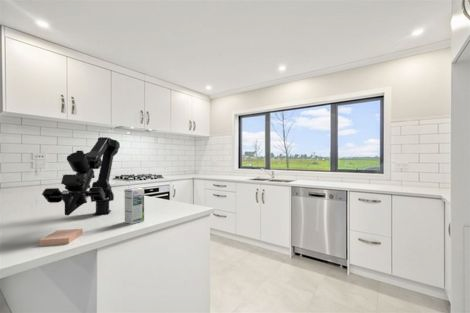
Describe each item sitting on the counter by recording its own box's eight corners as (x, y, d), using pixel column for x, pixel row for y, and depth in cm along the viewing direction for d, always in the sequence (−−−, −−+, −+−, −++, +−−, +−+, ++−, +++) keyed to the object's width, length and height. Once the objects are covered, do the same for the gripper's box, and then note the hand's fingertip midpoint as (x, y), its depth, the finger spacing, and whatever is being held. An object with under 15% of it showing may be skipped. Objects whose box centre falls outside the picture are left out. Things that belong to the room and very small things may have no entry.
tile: (56, 230, 75) (39, 240, 66) (82, 228, 76) (68, 238, 68) (56, 236, 75) (39, 247, 66) (82, 235, 76) (68, 245, 68)
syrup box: (132, 224, 87) (132, 189, 87) (123, 222, 90) (124, 188, 90) (144, 221, 92) (144, 187, 92) (136, 218, 95) (136, 186, 95)
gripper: (45, 166, 77) (22, 203, 66) (102, 166, 81) (89, 200, 70) (58, 185, 84) (39, 220, 73) (110, 184, 88) (98, 217, 77)
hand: (66, 214), depth 73 cm, fingers closed
